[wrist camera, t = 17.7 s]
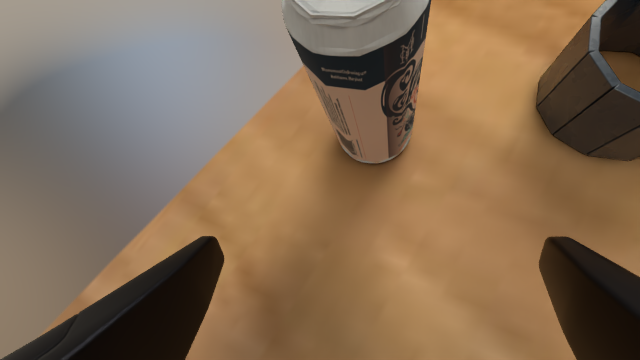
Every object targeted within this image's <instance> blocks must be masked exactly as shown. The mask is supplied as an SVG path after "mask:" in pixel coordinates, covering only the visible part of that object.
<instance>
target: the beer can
mask: <svg viewBox="0 0 640 360" xmlns="http://www.w3.org/2000/svg"><path fill="white" fill-rule="evenodd" d="M430 4H431V0H282V13H283V20H284V23H285V25H286V28H287V30H288V32H289V34H290V36H291V39H292V41H293V43H294V45H295V47H296V50H297V52H298V54H299V56H300V58H301V60H302V62H303V65H304V67H305V69H306V71H307V73H308V75H309V78H310V80H311V82H312V84H313V86H314V88H315V90H316V93H317V95H318V97H319V99H320V101H321V103H322V106H323V108H324V110H325V112H326V114H327V116H328V118H329V121H330V123H331V125H332V127H333V129H334V131H335V134H336V136H337V138H338V140H339V142H340V144H341V146H342V148H343V149H344V151H345V152H346V153H348V154H349V155H350V156H351V157H352V158H354V159H356V160H358V161H361V162H364V163H381V162H385V161H388V160H390V159H392V158H394V157H395V156H397V155H398V154H400V153H401V152H402V151H403V150H404V148H405V147H406V145H407V144H408V142H409V140H410V137H411V134H412V128H413V121H414V114H415V107H416V100H417V94H418V87H419V80H420V73H421V66H422V59H423V52H424V45H425V39H426V32H427V25H428V18H429V11H430Z"/></svg>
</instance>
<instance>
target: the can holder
mask: <svg viewBox="0 0 640 360" xmlns="http://www.w3.org/2000/svg"><path fill="white" fill-rule="evenodd" d="M599 50H604V51H623V52H633V53H635V54H637V55H640V0H605V2H604V3H603V4H602V5H601V6H600V7H599V8H598V9H597V10H596V11H595V12H594V13H593V14H592V16H591V17H590V18H589V19H588V20H587V22H586V23H585V24H584V25H583V27H582V28H581V29H580V30H579V31H578V33H577V34H576V35H575V36H574V38H573V39H572V40H571V41H570V42H569V44H568V45H567V46H566V47H565V49H564V50H563V51H562V52H561V53H560V55H559V56H558V57H557V58H556V60H555V61H554V62H553V63H552V64H551V66H550V67H549V68H548V69H547V71H546V72H545V73H544V74H543V75H542V77H541V79H540V81H539V89H538V97H537V106H538V107H537V109H538V111H539V113H540V114H541V116H542V118H543V120H544V121H545V123H546V125H547V127H548V128H549V130H550V132H551V134H554V133H555V134H554V135H553V136H555V137H556V138H558V139H560V140H561V141H563V142H565V143H566V144H568V145H569V146H571V147H573V148H574V149H576V150H578V151H579V152H581V153H583V154H587V156H595V157H602V158H609V159H616V160H623V161H628V160H629V161H631V160H635V159H638V158H640V92H638V91H636V90H634V89H632V88H630V87H628V86H626V85H624V84H622V83H621V82H620V81H619V79H618V78H617V76H616V75H615V73H614V72H613V71H612V69H611V68H610V66H609V65H608V63H607V62H606V61H605V59H604V58H603V56H602V55H601V53H600V52H599Z"/></svg>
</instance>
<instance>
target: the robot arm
mask: <svg viewBox="0 0 640 360" xmlns="http://www.w3.org/2000/svg"><path fill="white" fill-rule="evenodd" d="M223 264H224V255H223V252H222V250H221V247H220V245H219V243H218V240H217V239H216V238H215V237H213V236H202V237H200V238H198V239H197V240H195V241H193V242H192V243H190V244H189V245H187V246H185V247H184V248H182V249H181V250H179V251H177V252H176V253H174V254H173V255H171V256H169V257H168V258H166V259H165V260H163V261H161V262H160V263H158V264H156V265H155V266H153V267H152V268H150V269H148V270H147V271H145V272H144V273H142V274H140V275H139V276H137V277H136V278H134V279H132V280H131V281H129V282H128V283H126V284H124V285H123V286H121V287H119V288H118V289H116V290H115V291H113V292H111V293H110V294H108V295H107V296H105V297H103V298H102V299H100V300H99V301H97V302H95V303H94V304H92V305H91V306H89V307H87V308H86V309H84V310H83V311H81V312H80V313H79V314H76V315H74V316H73V317H71V318H70V319H68V320H66V321H65V322H63V323H62V324H60V325H58V326H57V327H55V328H53V329H52V330H50V331H48V332H47V333H45V334H43V335H42V336H40V337H38V338H37V339H35V340H33V341H32V342H30V343H28V344H26V345H25V346H23V347H22V348H20V349H18V350H16V351H14V352H13V353H11V354H9V355H7V356H6V357H4V358H2V359H0V360H185V359H186V356H187V354H188V352H189V350H190V348H191V345H192V343H193V341H194V339H195V336H196V334H197V332H198V330H199V328H200V325H201V323H202V321H203V319H204V317H205V314H206V312H207V310H208V307H209V304H210V302H211V299H212V296H213V293H214V290H215V287H216V284H217V281H218V278H219V275H220V272H221V270H222V267H223ZM539 269H540V272H541V275H542V277H543V280H544V283H545V286H546V288H547V291H548V294H549V296H550V299H551V302H552V304H553V307H554V310H555V312H556V315H557V318H558V320H559V323H560V325H561V328H562V330H563V333H564V335H565V337H566V339H567V341H568V343H569V345H570V347H571V349H572V351H573V353H574V355H575V357H576V359H577V360H640V277H639V276H637V275H635V274H634V273H632V272H630V271H628V270H626V269H625V268H623V267H621V266H619V265H618V264H616V263H614V262H612V261H611V260H609V259H607V258H605V257H603V256H602V255H600V254H598V253H596V252H595V251H593V250H591V249H589V248H588V247H586V246H584V245H582V244H580V243H579V242H577V241H575V240H573V239H571V238H569V237H548V238H547V239H546V240H545V242H544V246H543V249H542V253H541V256H540V260H539Z"/></svg>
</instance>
